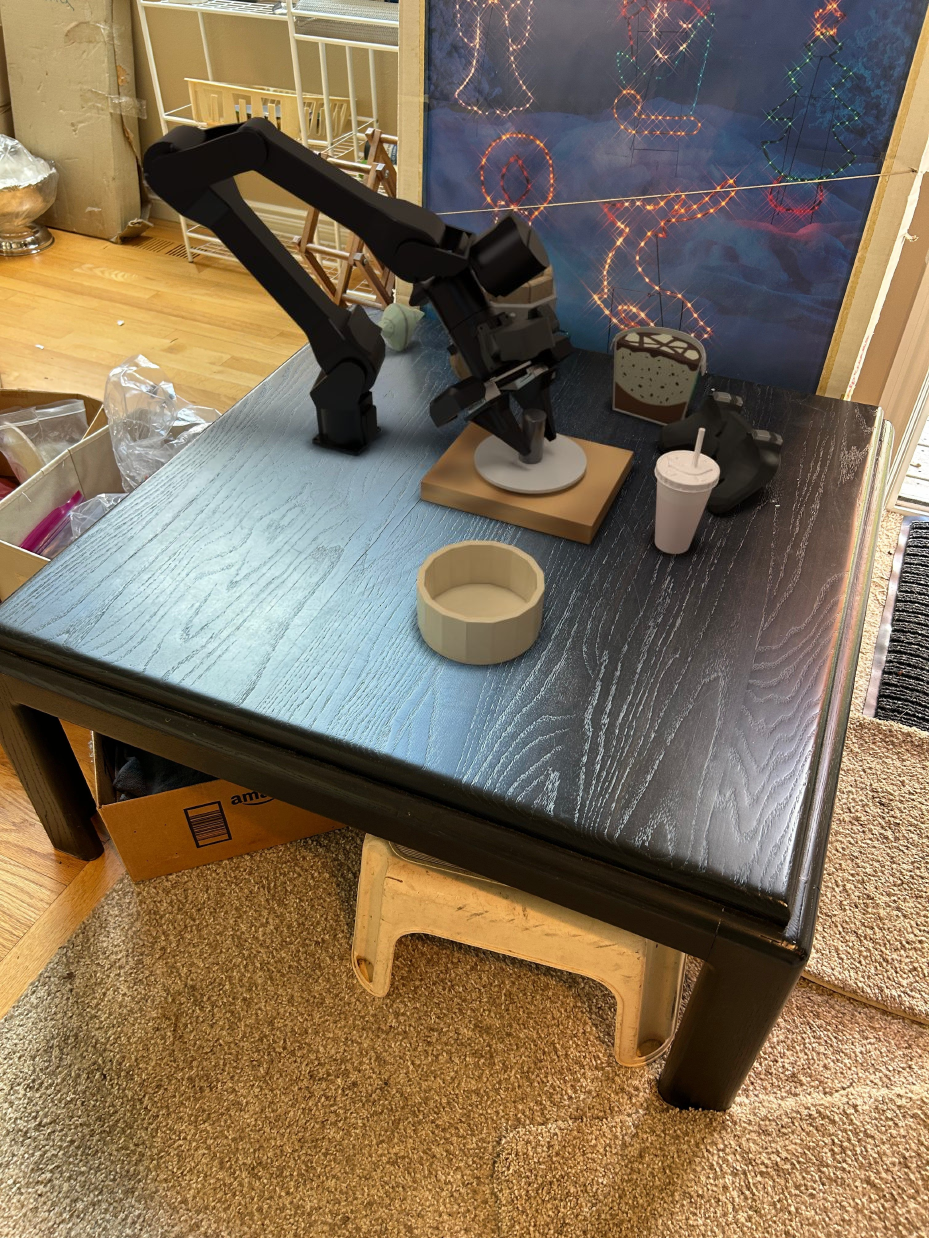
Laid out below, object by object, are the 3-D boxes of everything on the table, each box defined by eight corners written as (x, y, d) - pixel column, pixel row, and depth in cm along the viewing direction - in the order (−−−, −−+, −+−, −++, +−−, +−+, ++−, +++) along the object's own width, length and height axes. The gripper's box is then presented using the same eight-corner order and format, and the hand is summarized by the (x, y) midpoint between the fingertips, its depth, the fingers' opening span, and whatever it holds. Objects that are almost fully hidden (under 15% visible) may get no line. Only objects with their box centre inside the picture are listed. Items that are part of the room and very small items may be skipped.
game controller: (754, 530, 103) (810, 458, 98) (712, 516, 100) (768, 441, 95) (688, 455, 114) (736, 387, 109) (648, 440, 111) (696, 369, 106)
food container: (708, 413, 117) (724, 340, 110) (690, 434, 113) (706, 360, 107) (622, 387, 122) (632, 316, 115) (602, 406, 118) (611, 334, 111)
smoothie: (701, 565, 94) (730, 450, 85) (640, 557, 95) (661, 442, 85) (702, 529, 99) (729, 416, 89) (643, 521, 100) (664, 408, 90)
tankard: (508, 340, 132) (513, 235, 122) (572, 370, 125) (583, 262, 115) (404, 384, 122) (400, 274, 112) (468, 420, 115) (470, 306, 105)
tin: (397, 642, 85) (395, 599, 81) (449, 570, 93) (449, 528, 89) (513, 680, 82) (516, 637, 78) (557, 601, 90) (561, 559, 86)
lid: (471, 495, 98) (472, 443, 94) (476, 434, 108) (477, 384, 103) (588, 500, 98) (595, 448, 94) (583, 438, 108) (589, 388, 103)
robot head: (386, 363, 126) (384, 317, 122) (367, 353, 128) (364, 307, 124) (428, 346, 130) (428, 300, 126) (410, 336, 132) (408, 291, 128)
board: (420, 499, 102) (420, 481, 100) (476, 432, 113) (476, 414, 111) (589, 544, 96) (591, 526, 95) (630, 469, 107) (633, 451, 106)
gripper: (448, 312, 87) (528, 455, 88) (570, 260, 97) (639, 389, 99) (395, 361, 96) (468, 489, 98) (511, 309, 106) (576, 426, 108)
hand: (540, 447), depth 100 cm, fingers open, 4 cm apart
